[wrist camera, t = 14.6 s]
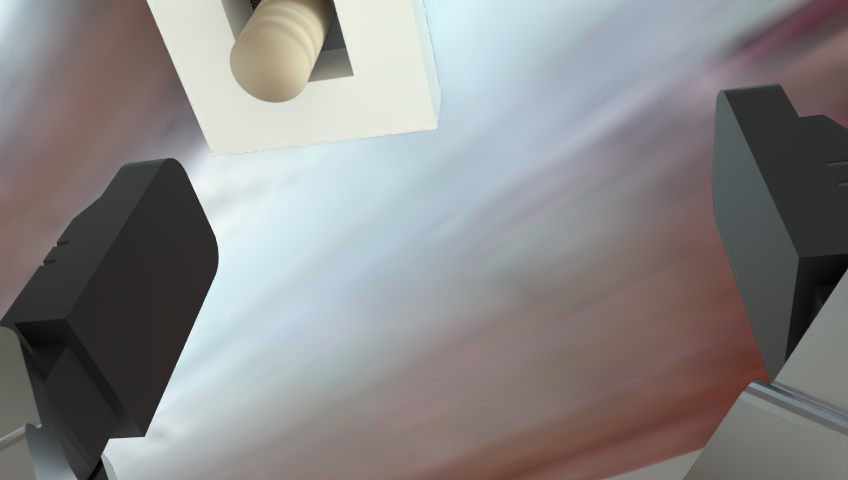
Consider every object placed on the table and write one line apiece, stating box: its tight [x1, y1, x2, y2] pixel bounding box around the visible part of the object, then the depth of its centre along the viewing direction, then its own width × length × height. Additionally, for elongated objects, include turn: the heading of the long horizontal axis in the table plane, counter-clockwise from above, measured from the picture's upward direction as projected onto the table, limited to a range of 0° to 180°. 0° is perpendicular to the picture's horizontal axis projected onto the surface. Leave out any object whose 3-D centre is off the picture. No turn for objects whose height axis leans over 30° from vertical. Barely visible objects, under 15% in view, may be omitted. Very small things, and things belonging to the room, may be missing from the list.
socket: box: [147, 0, 442, 157], centre depth 43 cm, size 14×14×4 cm
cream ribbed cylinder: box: [230, 0, 336, 103], centre depth 42 cm, size 4×4×8 cm
